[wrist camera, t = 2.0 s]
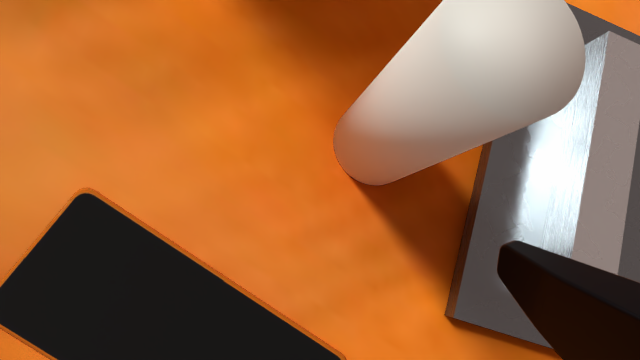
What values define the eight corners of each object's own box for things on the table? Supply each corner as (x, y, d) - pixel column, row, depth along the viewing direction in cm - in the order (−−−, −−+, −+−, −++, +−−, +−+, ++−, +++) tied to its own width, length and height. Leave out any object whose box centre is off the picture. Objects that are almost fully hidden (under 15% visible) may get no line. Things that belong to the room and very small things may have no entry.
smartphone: (86, 184, 23) (81, 181, 22) (348, 356, 24) (352, 360, 23) (-22, 313, 21) (-32, 315, 20) (270, 493, 22) (272, 502, 21)
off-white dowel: (429, 146, 27) (612, 53, 14) (375, 203, 25) (523, 155, 13) (373, 86, 26) (507, -62, 14) (315, 140, 25) (407, 28, 13)
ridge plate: (618, 369, 27) (674, 386, 24) (444, 315, 25) (478, 325, 22) (660, 57, 32) (712, 34, 28) (517, -7, 30) (554, -40, 26)
